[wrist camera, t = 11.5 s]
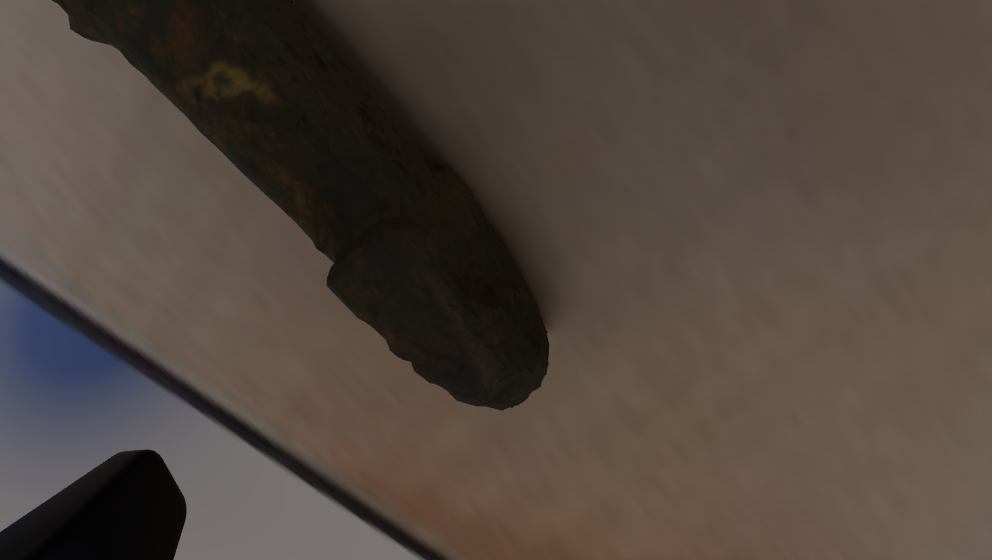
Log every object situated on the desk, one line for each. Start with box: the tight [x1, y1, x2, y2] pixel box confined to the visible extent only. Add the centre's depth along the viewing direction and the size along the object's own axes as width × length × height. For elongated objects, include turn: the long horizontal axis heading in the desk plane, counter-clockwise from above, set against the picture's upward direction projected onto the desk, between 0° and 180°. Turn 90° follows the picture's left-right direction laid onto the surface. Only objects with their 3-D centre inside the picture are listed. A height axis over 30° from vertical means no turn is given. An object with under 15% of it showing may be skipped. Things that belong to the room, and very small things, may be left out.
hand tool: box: [52, 0, 549, 410], centre depth 17 cm, size 19×4×5 cm, turn 38°
